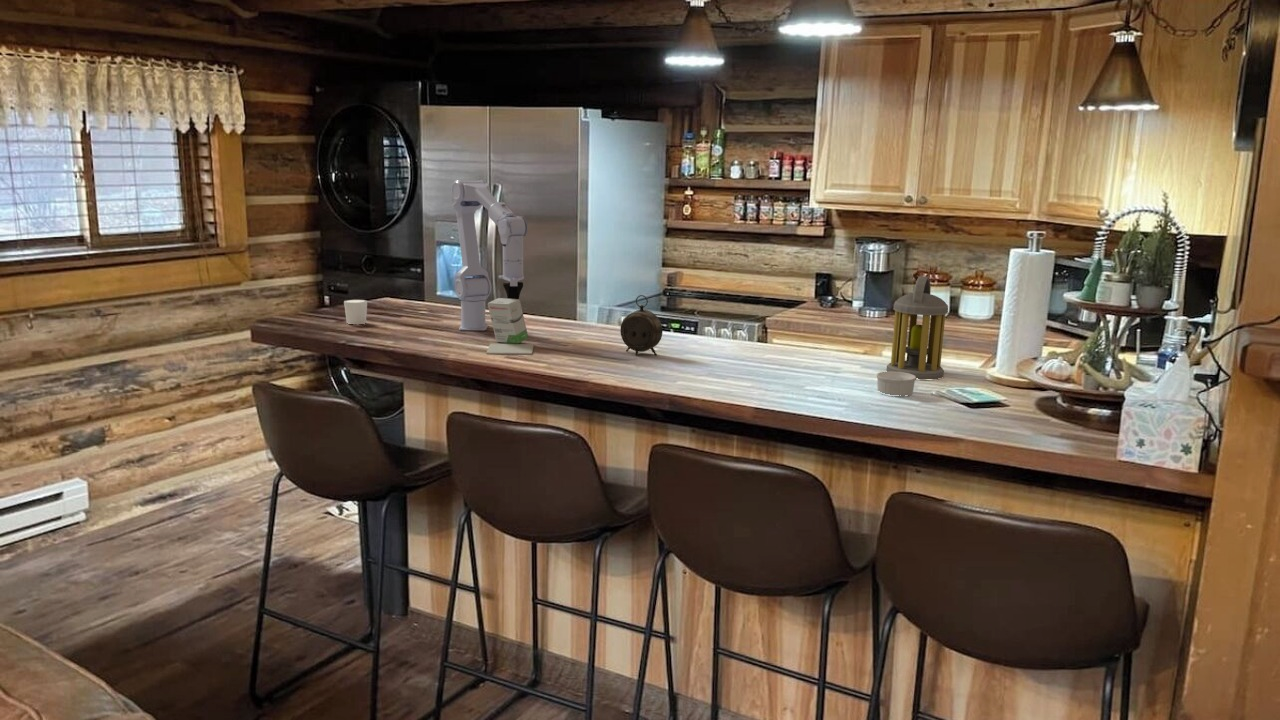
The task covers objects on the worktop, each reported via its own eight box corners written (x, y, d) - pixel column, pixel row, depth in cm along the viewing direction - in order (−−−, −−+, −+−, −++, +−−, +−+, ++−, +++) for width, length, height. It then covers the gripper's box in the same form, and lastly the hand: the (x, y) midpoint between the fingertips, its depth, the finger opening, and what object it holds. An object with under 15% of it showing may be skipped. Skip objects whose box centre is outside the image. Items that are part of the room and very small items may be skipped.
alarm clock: (662, 354, 258) (664, 295, 254) (654, 358, 253) (656, 298, 250) (625, 350, 262) (627, 292, 259) (617, 354, 257) (618, 294, 254)
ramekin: (891, 399, 217) (893, 381, 216) (867, 390, 225) (869, 372, 224) (922, 396, 221) (924, 378, 220) (898, 387, 229) (899, 370, 228)
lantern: (893, 365, 253) (901, 271, 247) (948, 372, 246) (957, 275, 241) (880, 375, 240) (888, 276, 235) (937, 382, 234) (947, 281, 229)
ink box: (529, 337, 268) (521, 298, 264) (518, 344, 264) (509, 304, 260) (506, 335, 273) (498, 296, 268) (495, 342, 269) (486, 302, 265)
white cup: (364, 325, 288) (363, 303, 286) (341, 325, 288) (340, 302, 286) (370, 322, 295) (370, 299, 293) (348, 321, 295) (347, 298, 293)
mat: (490, 345, 265) (490, 343, 265) (533, 345, 266) (533, 344, 266) (486, 354, 253) (486, 352, 253) (531, 354, 254) (531, 353, 254)
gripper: (498, 257, 272) (498, 304, 275) (498, 263, 258) (499, 312, 261) (523, 257, 273) (523, 304, 276) (525, 263, 259) (525, 312, 262)
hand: (513, 308), depth 269 cm, fingers closed
